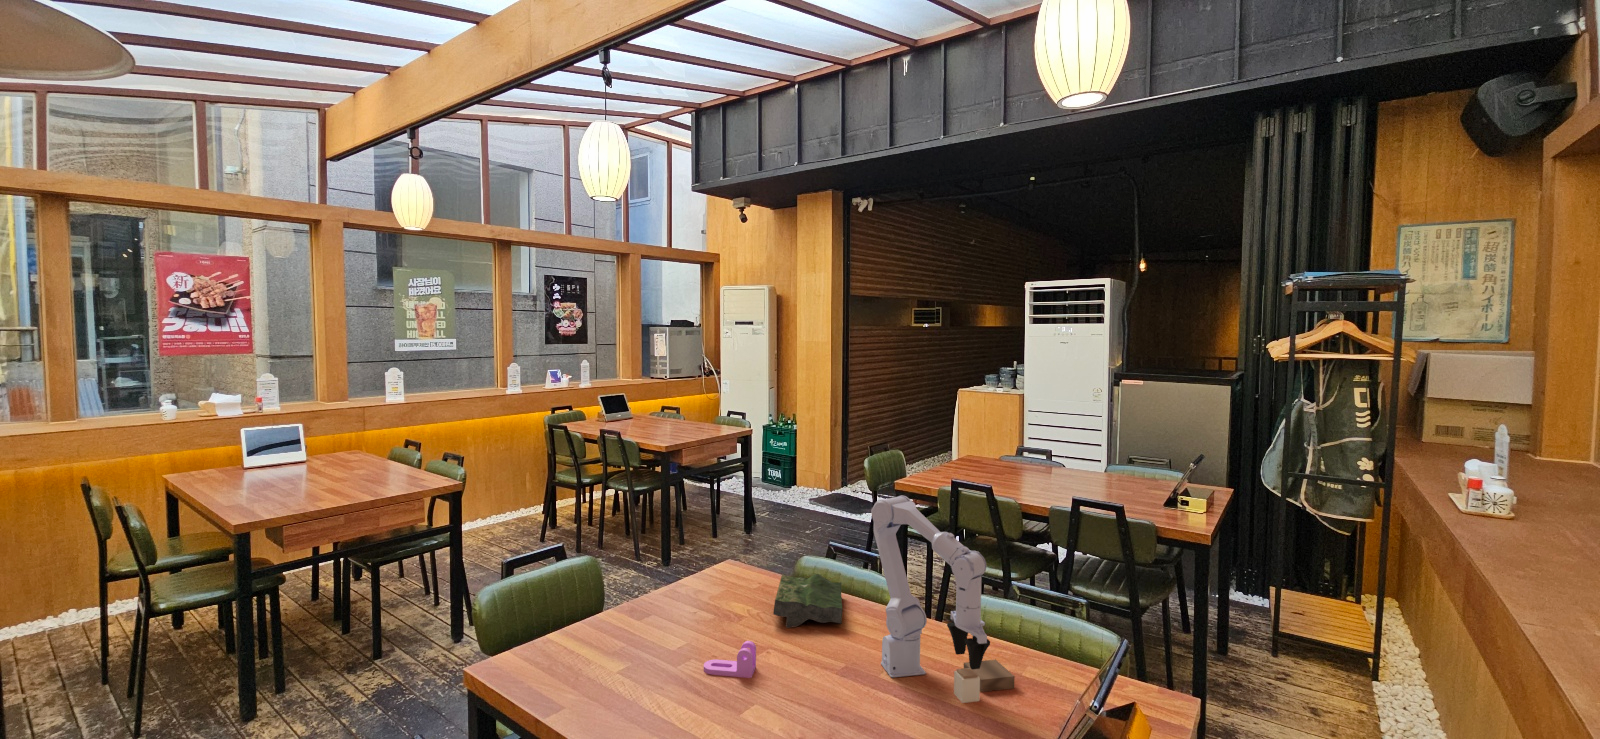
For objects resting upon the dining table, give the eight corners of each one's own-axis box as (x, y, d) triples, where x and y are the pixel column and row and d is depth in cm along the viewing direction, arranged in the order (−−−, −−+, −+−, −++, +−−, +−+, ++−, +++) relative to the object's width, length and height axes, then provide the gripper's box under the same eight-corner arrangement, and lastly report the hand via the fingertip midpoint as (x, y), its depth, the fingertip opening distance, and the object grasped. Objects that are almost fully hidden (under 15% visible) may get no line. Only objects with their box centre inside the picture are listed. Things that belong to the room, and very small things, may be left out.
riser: (980, 691, 158) (980, 679, 158) (963, 674, 167) (963, 662, 167) (1014, 688, 160) (1014, 676, 160) (995, 671, 169) (995, 659, 169)
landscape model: (840, 634, 193) (843, 600, 194) (771, 625, 194) (775, 591, 195) (839, 606, 219) (842, 576, 220) (778, 599, 221) (782, 569, 221)
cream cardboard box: (962, 703, 153) (962, 677, 153) (953, 693, 157) (954, 668, 157) (979, 701, 154) (979, 675, 154) (970, 691, 158) (971, 666, 158)
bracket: (755, 668, 169) (756, 641, 169) (751, 678, 164) (751, 651, 163) (707, 663, 171) (707, 637, 171) (700, 674, 165) (701, 646, 165)
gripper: (999, 614, 149) (998, 673, 149) (969, 592, 163) (968, 646, 164) (971, 617, 148) (970, 676, 148) (943, 594, 162) (942, 648, 162)
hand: (967, 660), depth 156 cm, fingers open, 7 cm apart
